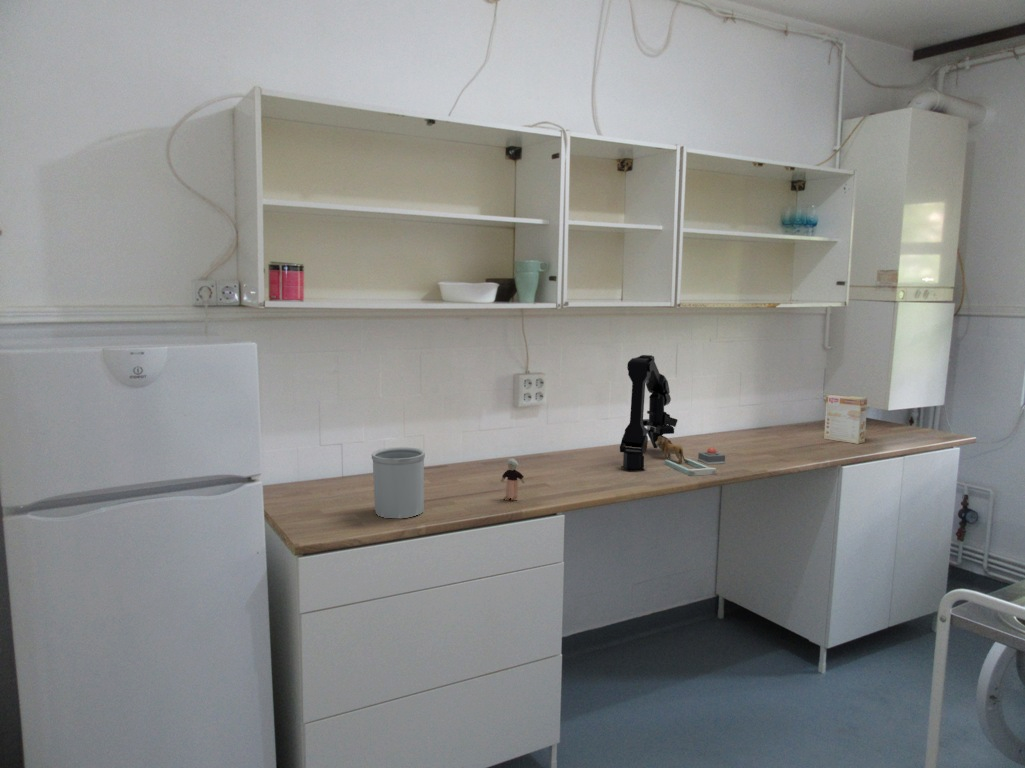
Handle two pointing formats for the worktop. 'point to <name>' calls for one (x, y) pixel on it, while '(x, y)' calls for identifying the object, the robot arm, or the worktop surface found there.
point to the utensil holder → (398, 482)
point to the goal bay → (692, 472)
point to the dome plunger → (711, 451)
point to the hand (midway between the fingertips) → (655, 448)
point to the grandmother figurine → (512, 480)
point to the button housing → (711, 458)
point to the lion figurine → (670, 448)
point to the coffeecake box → (845, 418)
